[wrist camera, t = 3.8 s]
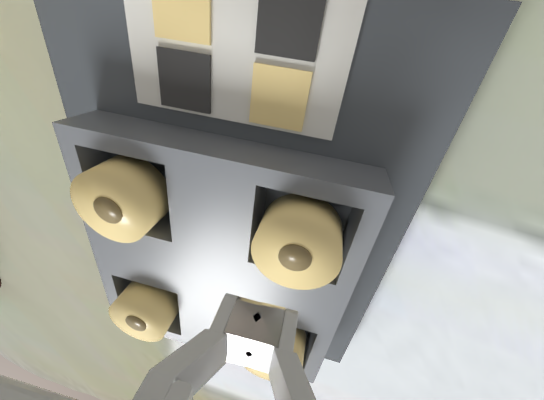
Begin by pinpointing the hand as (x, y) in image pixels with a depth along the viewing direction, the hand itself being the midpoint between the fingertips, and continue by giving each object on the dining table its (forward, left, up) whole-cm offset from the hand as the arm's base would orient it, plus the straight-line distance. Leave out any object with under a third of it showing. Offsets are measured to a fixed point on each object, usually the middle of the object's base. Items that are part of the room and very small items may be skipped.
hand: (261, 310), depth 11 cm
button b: (+9, +9, -5) cm, 14 cm away
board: (+4, +1, -9) cm, 10 cm away
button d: (+9, -1, -5) cm, 11 cm away
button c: (-1, -1, -5) cm, 5 cm away
